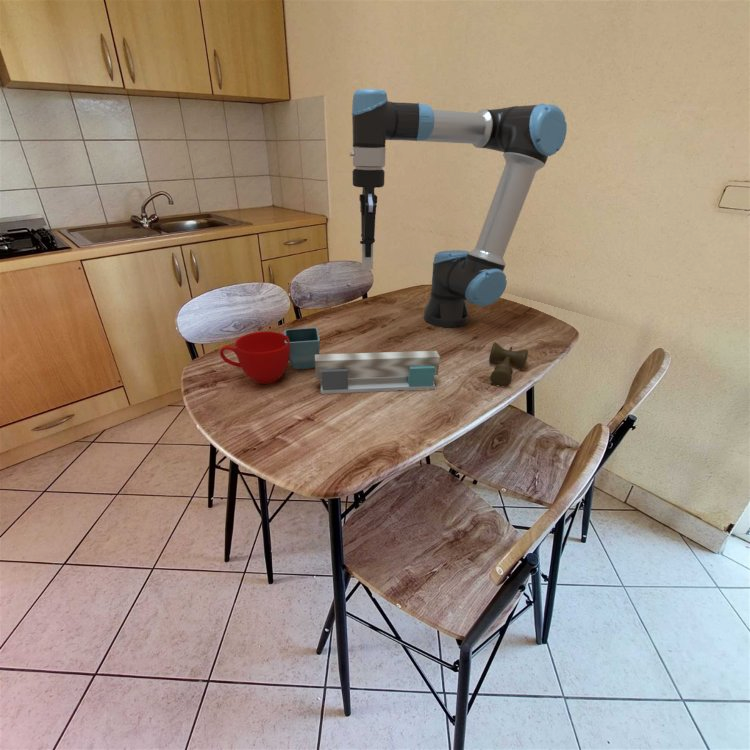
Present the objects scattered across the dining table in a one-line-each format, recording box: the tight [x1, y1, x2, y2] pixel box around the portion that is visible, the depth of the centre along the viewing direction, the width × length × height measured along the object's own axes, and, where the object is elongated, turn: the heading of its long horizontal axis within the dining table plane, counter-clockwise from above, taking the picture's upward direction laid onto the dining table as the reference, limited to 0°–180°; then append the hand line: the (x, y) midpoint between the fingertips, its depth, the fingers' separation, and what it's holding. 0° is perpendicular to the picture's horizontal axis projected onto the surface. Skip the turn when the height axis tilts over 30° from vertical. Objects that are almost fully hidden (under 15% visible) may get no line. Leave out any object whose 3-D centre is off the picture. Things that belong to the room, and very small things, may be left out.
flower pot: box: [284, 327, 321, 370], centre depth 115 cm, size 9×9×9 cm
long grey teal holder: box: [320, 366, 436, 395], centre depth 107 cm, size 28×7×6 cm, turn 97°
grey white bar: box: [314, 350, 441, 381], centre depth 106 cm, size 30×4×5 cm, turn 97°
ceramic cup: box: [219, 331, 290, 385], centre depth 108 cm, size 13×17×10 cm
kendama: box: [488, 341, 529, 387], centre depth 116 cm, size 6×10×20 cm
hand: (367, 268), depth 113 cm, fingers closed
